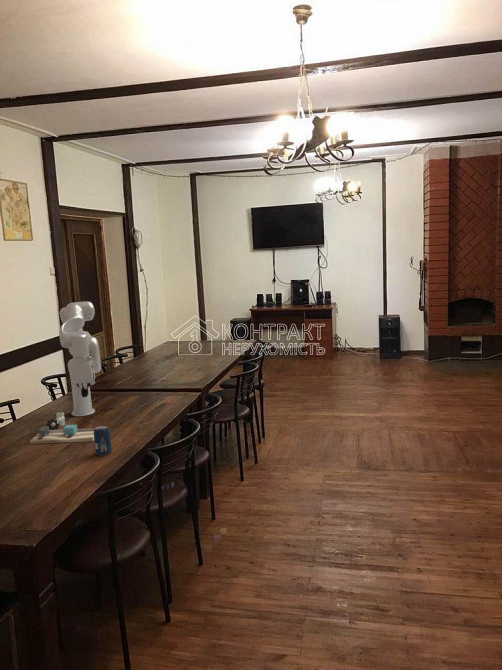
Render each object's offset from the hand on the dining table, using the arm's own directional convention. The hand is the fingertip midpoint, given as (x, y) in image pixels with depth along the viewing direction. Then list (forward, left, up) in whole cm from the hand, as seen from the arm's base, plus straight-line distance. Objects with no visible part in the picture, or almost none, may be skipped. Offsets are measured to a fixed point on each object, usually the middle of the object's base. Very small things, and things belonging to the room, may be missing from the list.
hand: (85, 396), depth 260 cm
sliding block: (+3, -8, -18) cm, 20 cm away
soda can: (+25, +15, -20) cm, 35 cm away
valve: (-14, -21, -20) cm, 32 cm away
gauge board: (+3, -10, -20) cm, 22 cm away
